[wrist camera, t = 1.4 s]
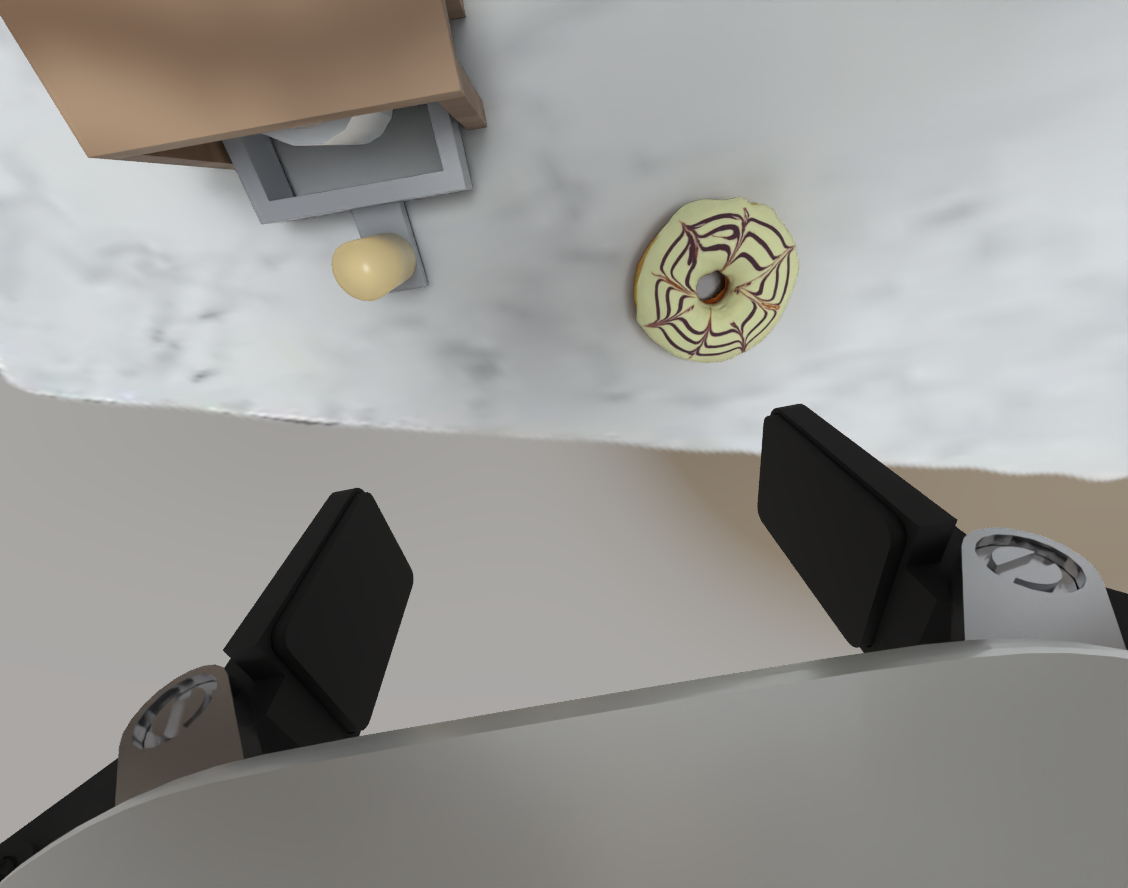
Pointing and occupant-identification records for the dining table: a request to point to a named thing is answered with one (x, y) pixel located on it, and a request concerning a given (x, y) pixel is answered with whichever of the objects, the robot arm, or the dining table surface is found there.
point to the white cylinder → (336, 131)
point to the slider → (358, 208)
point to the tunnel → (234, 68)
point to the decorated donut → (699, 247)
